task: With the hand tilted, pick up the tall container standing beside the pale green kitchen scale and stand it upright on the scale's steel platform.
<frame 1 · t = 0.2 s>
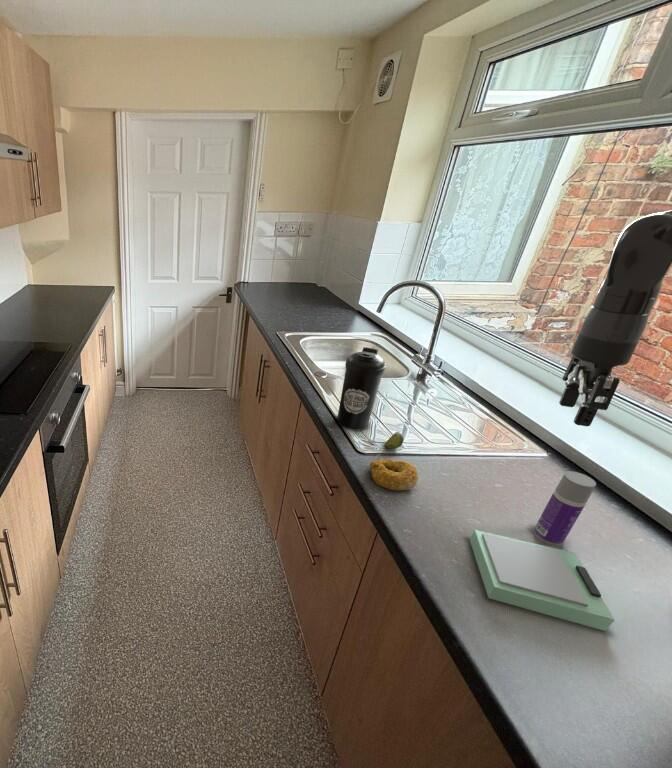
hand: (573, 414, 80), 25 cm above the worktop, tool pointing down, fingers open, 8 cm apart
bagel: (390, 480, 102), on the worktop
lime: (391, 447, 113), on the worktop
container: (547, 537, 85), on the worktop
scale: (530, 580, 76), on the worktop
water bottle: (352, 422, 125), on the worktop
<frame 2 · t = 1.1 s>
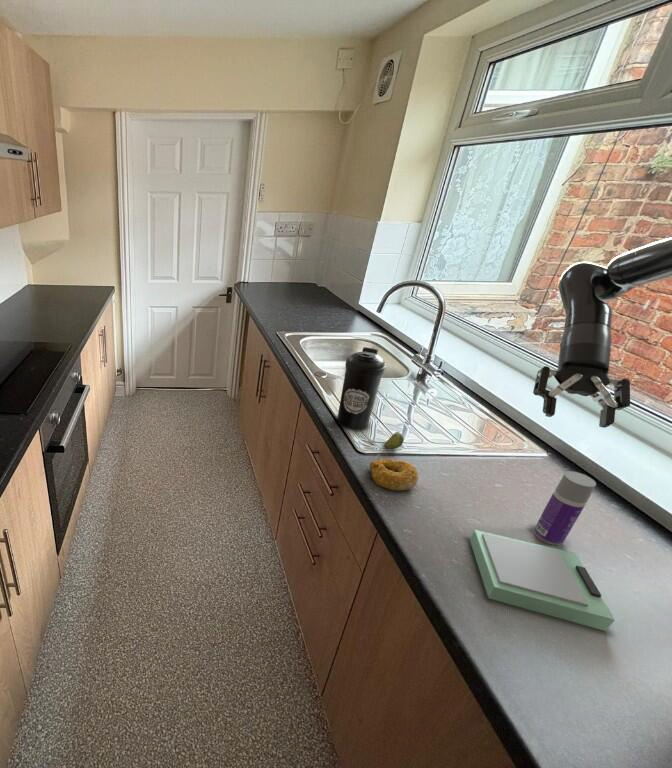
hand: (576, 421, 84), 22 cm above the worktop, tool tilted 45°, fingers open, 8 cm apart
nothing on the worktop moved.
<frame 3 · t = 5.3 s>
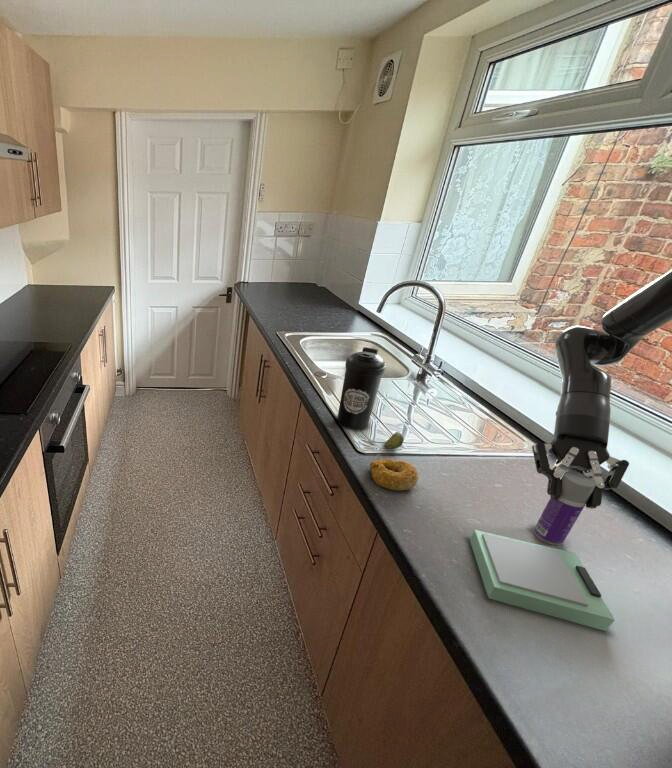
hand: (573, 502, 79), 11 cm above the worktop, tool tilted 45°, fingers closed on container, 4 cm apart
container: (547, 537, 85), on the worktop, touching gripper
everything else where it was.
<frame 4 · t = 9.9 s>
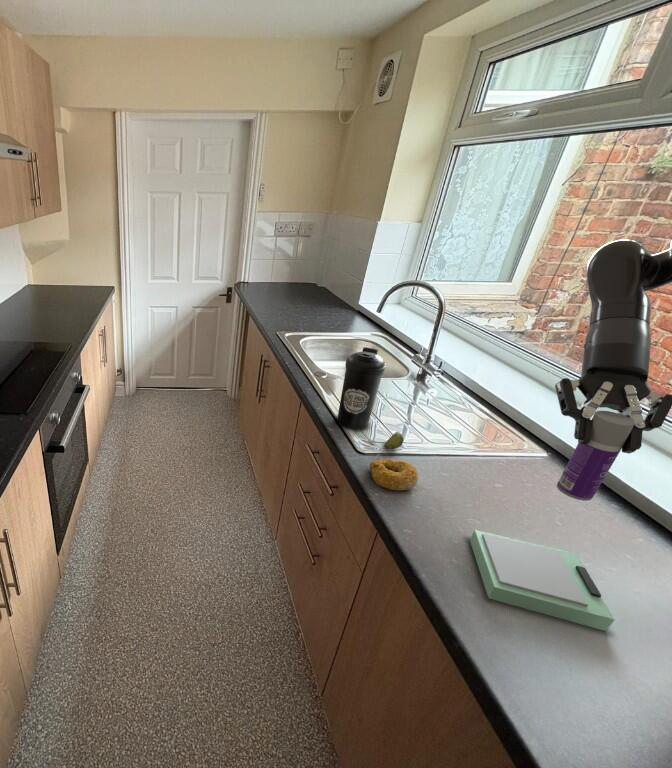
hand: (606, 446, 66), 28 cm above the worktop, tool tilted 45°, fingers closed on container, 4 cm apart
container: (573, 492, 72), point 17 cm above the worktop, touching gripper
everything else where it was.
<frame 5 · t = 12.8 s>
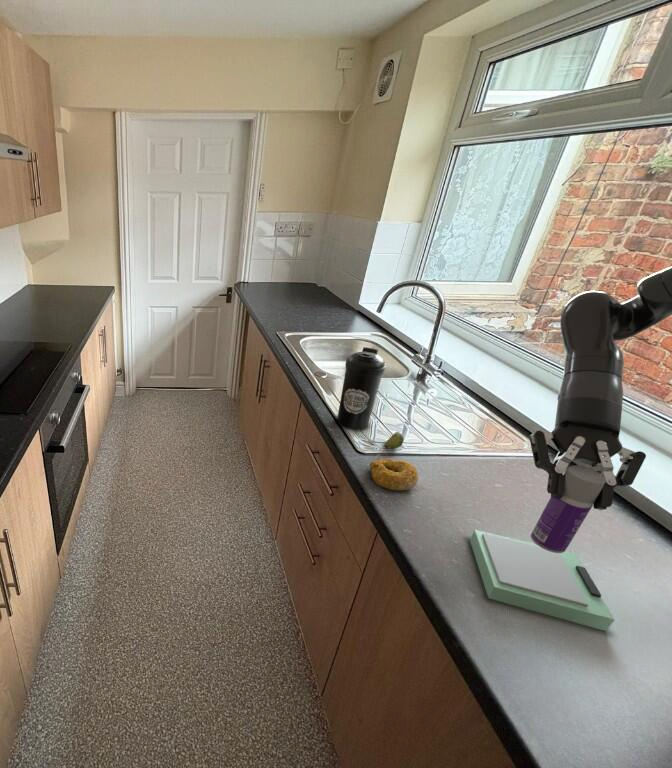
hand: (578, 502, 66), 20 cm above the worktop, tool tilted 45°, fingers closed on container, 4 cm apart
container: (547, 543, 72), point 9 cm above the worktop, touching gripper
everything else where it was.
when the fingers open (14 cm above the worktop, at t = 14.9 s): container stays where it is, resting on scale.
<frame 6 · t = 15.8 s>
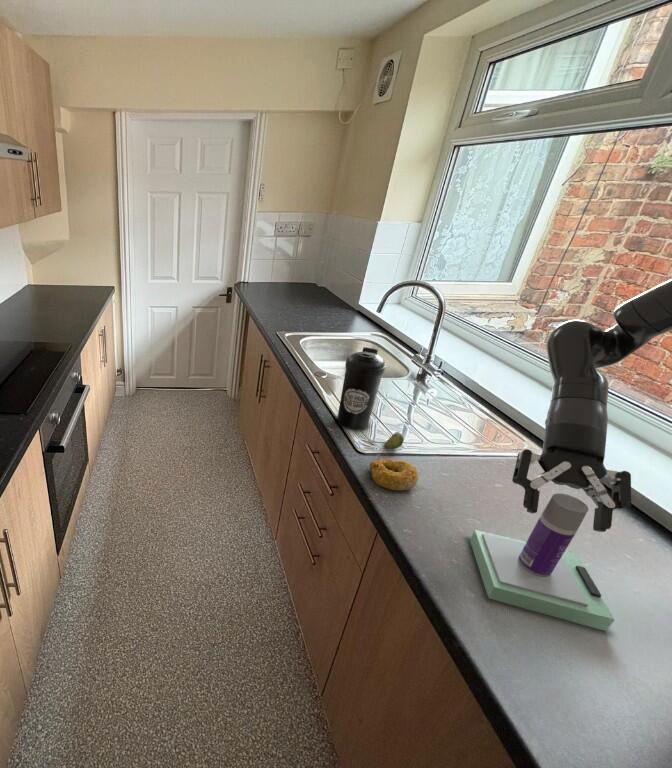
hand: (564, 521, 68), 16 cm above the worktop, tool tilted 45°, fingers open, 8 cm apart
container: (533, 566, 75), point 3 cm above the worktop, touching scale
everything else where it was.
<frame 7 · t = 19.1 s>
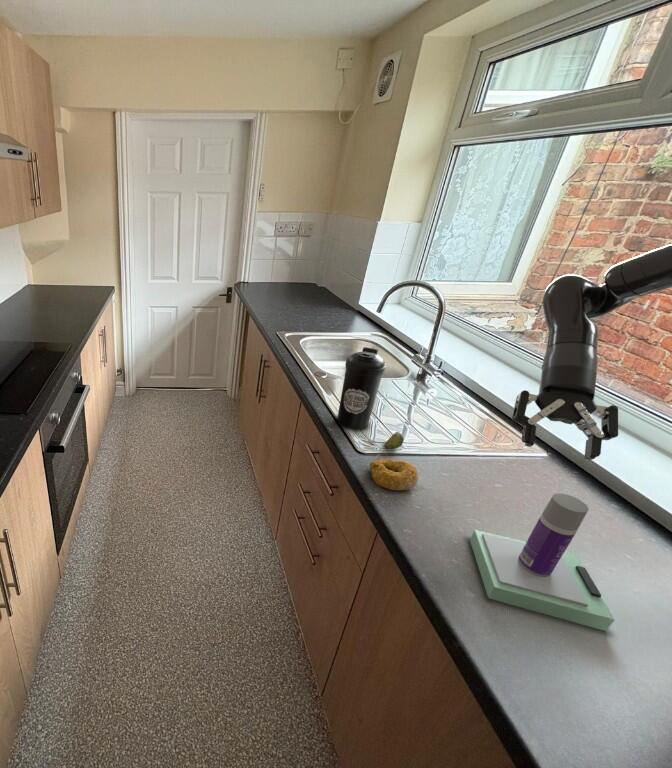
hand: (559, 452, 76), 21 cm above the worktop, tool tilted 45°, fingers open, 8 cm apart
nothing on the worktop moved.
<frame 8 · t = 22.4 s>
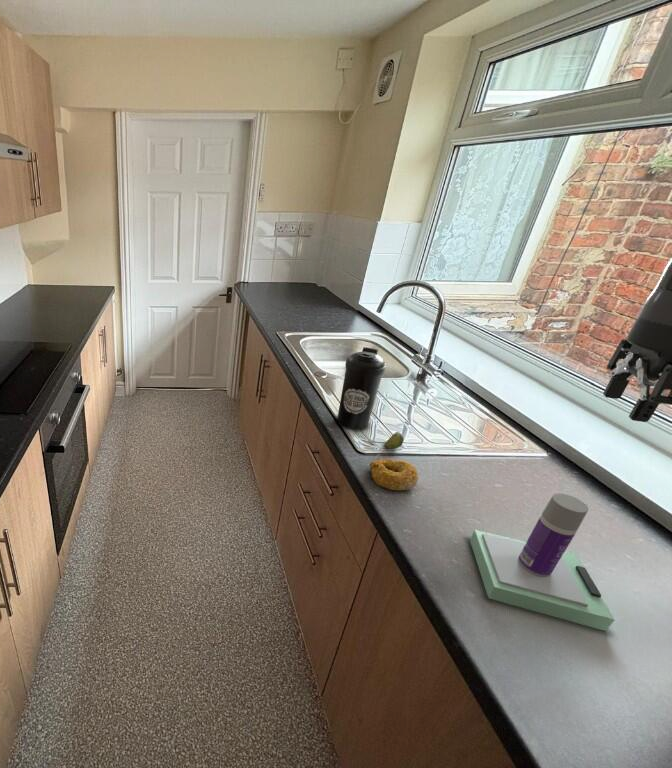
hand: (623, 408, 72), 30 cm above the worktop, tool pointing down, fingers open, 8 cm apart
nothing on the worktop moved.
at the end: container inside the target area on the scale (0.5 cm from its centre), point 3.3 cm above the scale's base; container tilted 0° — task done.
